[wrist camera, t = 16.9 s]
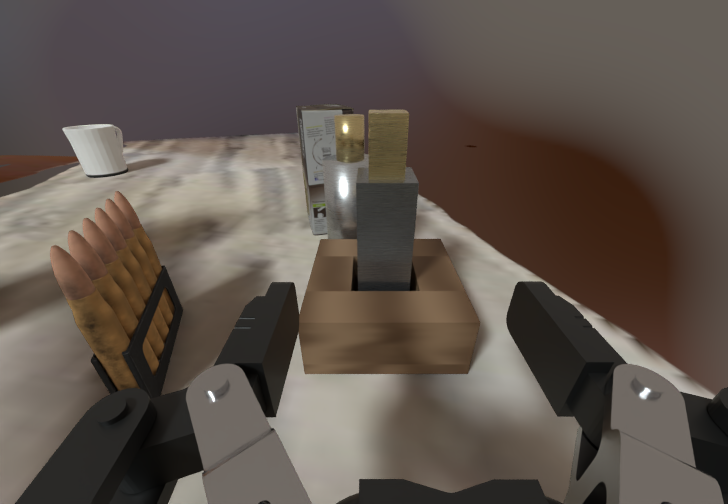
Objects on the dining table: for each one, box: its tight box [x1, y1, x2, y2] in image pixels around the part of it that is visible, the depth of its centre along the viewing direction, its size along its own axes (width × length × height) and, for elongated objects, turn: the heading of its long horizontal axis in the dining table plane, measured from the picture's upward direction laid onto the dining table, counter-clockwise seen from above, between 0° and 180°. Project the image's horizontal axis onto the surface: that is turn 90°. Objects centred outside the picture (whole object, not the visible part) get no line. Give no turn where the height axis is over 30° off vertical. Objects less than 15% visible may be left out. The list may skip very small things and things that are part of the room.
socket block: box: [298, 239, 480, 374], centre depth 26 cm, size 12×12×5 cm
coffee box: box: [296, 104, 354, 235], centre depth 43 cm, size 9×6×16 cm
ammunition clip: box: [50, 191, 183, 399], centre depth 21 cm, size 11×2×12 cm, turn 19°
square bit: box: [356, 110, 419, 291], centre depth 23 cm, size 4×4×16 cm
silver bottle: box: [322, 114, 369, 239], centre depth 32 cm, size 6×6×16 cm
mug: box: [63, 124, 128, 178], centre depth 70 cm, size 11×9×10 cm
